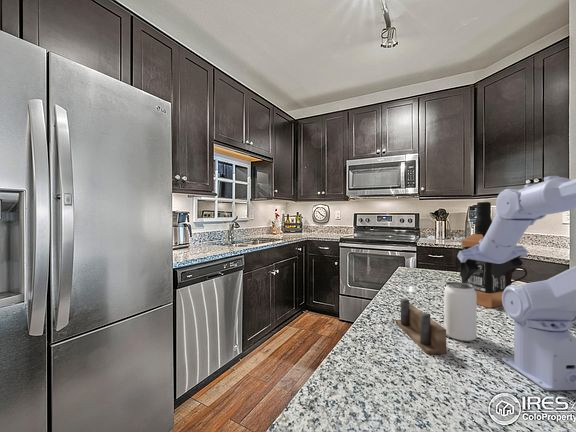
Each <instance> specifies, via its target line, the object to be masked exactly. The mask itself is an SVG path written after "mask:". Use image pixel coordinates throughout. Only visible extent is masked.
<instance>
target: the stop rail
mask: <svg viewBox="0 0 576 432" xmlns="http://www.w3.org/2000/svg"><path fill="white" fill-rule="evenodd" d="M395 324H396V325H397V326H398V327H399V328H400V329H401V330H402V331H403V332H404V333H405V334H406V335H407V336H408V337H409V338H410V339H411V340H412V341H414V343H416V345H417V346H418V347H420V349H421V350H422V351H423V352H424V353H425V354H427V355H439V354H440V355H445V354H447V335H446V329H445V328H444V326H442V325H441V324H439V323H438V322H436V321H435V320H434V319H432V318H431V314H430V313H427V312H423V311H421V310H420V309H418V308H417V307H416V306H414V305H413V304H412V303H410V299H408V298H401V299H400V319H395Z"/></svg>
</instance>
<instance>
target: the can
mask: <svg viewBox="0 0 576 432" xmlns="http://www.w3.org/2000/svg"><path fill="white" fill-rule="evenodd" d="M445 284H446V286H445V288H444V291H443V293H444V294H443V297H444V298H443V299H444V300H443V305H444V306H443V310H444V311H443V321H444V322H443V324H444V325H443V328H445V329H446V337H448V338H450V339H453V340H455V341H456V340H457V341H460V342H473V341H475V339H477V333H478V332H477V330H478V329H477V327H478V326H477V323H478V322H477V318H478V317H477V315H478V314H477V313H478V312H477V311H478V309H477V307H478V304H477V296H476V292H475V290H474V286H473V285H471V284H467V283H462V281H461V282H460V281H459V282H458V281H449V282H446V283H445Z"/></svg>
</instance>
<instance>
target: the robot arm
mask: <svg viewBox="0 0 576 432" xmlns="http://www.w3.org/2000/svg"><path fill="white" fill-rule="evenodd" d="M495 208H496V214H495V216H494V218H493V219H492V224H491V225H490V227H489V229H488V231H487V233H486V235H485V237H484V238H483V239H480V241H479V243H480V244H478V245H475V246H473V247H471V248H469V249H466V250H463V249H462V250H459V251H458V253H457V256H456V257H457V258H458V260H459V263H460V271H459V275H460V277H461V280H462V279H463V280H464V281H467V280H469V278H470V277H471V275H472V274H473V273H474V272H476V271H477V270H480V269H479V267H478V266H477V264H476V260H478V261H484V262H490V263H494V264H493V266H492V268H491V271H490V272H491V274H492V275H493V276H494V278H495V279H496V278H499V277H501V276H502V275H503V274H505V273H506V272H508V271H510V270H512V269H514V268H516V267H522V265H523V263H524V262H523V261H522V260H521V258H526V256H527V254H528V253H529V251H528V250H527V249H526V248H525V247H524V245H517V244H518V243H519V241H520V240H521V238H522V237H523V236H524V234H525V232H526V231H527V229H528V228H529V227H530V226H533V225H534V224H535V222H536V221H538V220H542V219H544V218H545V217H546V216H547V215H552V214H553V215H554V214H559V213H565V212H569V211H572V210H574V209H576V178H574V179H571V178H568V177H560V176H559V175H550V176H545V177H543V181H542V182H539V183H535V184H534V183H532V184H531V183H528V184H525V185H524V186H523V188H521V189H512V188H506V189H505V188H504V190H502V191H501V192H499V194H498V195H497V198H496V201H495ZM502 304H503V305H502V307H503V309H504V311H505V312H506V314H507V315H508V317H509V318H510V319H511V320H513V321H514V323H513V325H514V327H513V331H514V332H513V334H514V335H513V336H514V337H513V341H514V342H513V343H514V344H513V345H514V346H513V357H511V356H510V357H501V360H502V362H504V363H506V364H507V365H508V366H510V367H511V368H512V369H514V370H516V371H517V372H519V373H520V374H521V375H523V376H525V378H527V379H528V380H530V381H532V382H533V383H535V384H536V385H537V386H539V387H540V388H542V389H543V390H546V391H576V337H575V336H574V335H573V334H572V333H571V331H570V330H569V329H573V328H574V323H576V265H574V266H572V267H570V268H568V269H566V270H564V271H562V272H560V273H558V274H556V275H554V276H552V277H549V278H548V279H545V280H540V281H534V282H533V281H532V282H528V283H527V282H525V283H523V284H521V285H513V284H511V285H510V286H507V287H506V288H505V290H504V292H503V294H502Z"/></svg>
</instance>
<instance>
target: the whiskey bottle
mask: <svg viewBox="0 0 576 432" xmlns="http://www.w3.org/2000/svg"><path fill="white" fill-rule="evenodd" d="M491 208H492V203H491V202H490V201H479V202H478V201H477V203H476V218H475V223H474V229H475V233H473V234H471V235H469V236H467V237H464V238H462V239H460V240H461V241H460V242H461V243H460V244H461V246H462V250H466V249H469V248H471V247H473V246H475V245H478V244H480V243H479V241H480V239H483V238H484V237H485V235H486V233H487V231H488V229H489V227H490V225H491V224H492V222H493V218H492V216H491V215H492V214H491V213H492V210H491ZM476 264H477V266H478V267H479V269H480V270H477V271H476V272H474V273H473V274H472V275H471V277H470V278H469V280H467V281H464V280H463V279H462V278H461V283H467V284H471V285H473V286H474V290H475V292H476V296H477V306H478V305H479V306H482V307H485V308H490V309H491V308H492V309H493V308H496V307H497V308H498V307H501V306H502V307H503V304H502V294H503V292H504V290H505V288H506V273H505V274H503V275H502V276H501V277H499V278H496V279H495V278H494V276H493V275H492V274H491V272H490V271H491V268H492V266H493V264H494V263H490V262H484V261H478V260H476Z"/></svg>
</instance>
